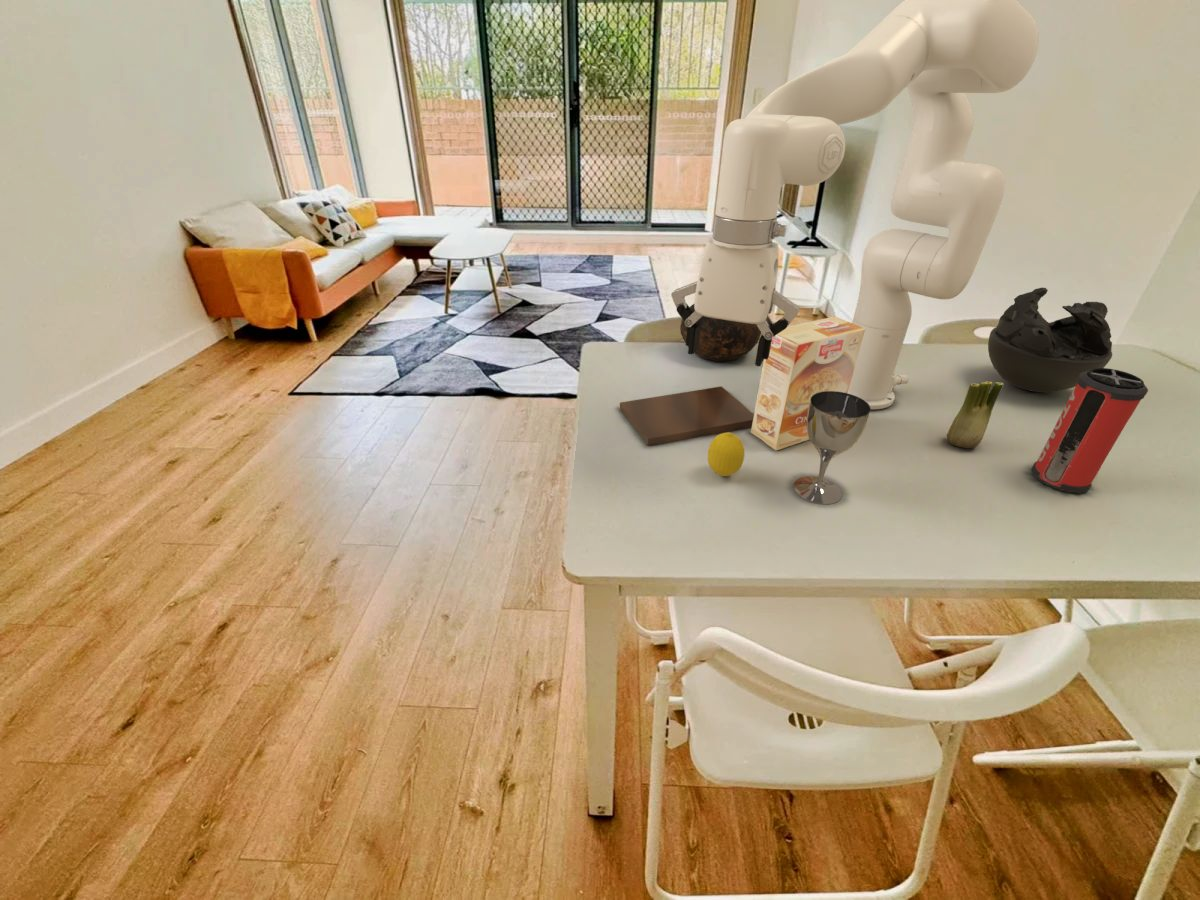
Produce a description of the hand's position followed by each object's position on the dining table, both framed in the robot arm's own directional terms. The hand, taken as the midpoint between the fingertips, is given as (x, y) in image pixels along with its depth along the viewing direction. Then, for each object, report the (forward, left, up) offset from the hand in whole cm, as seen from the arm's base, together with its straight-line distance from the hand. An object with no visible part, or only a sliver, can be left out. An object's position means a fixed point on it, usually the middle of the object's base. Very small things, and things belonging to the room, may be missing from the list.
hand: (725, 356), depth 80 cm
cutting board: (-4, -17, -20) cm, 26 cm away
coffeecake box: (-20, -6, -20) cm, 29 cm away
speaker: (-51, +20, -20) cm, 58 cm away
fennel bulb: (-45, +7, -20) cm, 50 cm away
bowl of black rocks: (-77, -6, -20) cm, 80 cm away
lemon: (-1, +2, -20) cm, 20 cm away
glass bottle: (-24, -42, -20) cm, 52 cm away
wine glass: (-13, +10, -20) cm, 26 cm away
